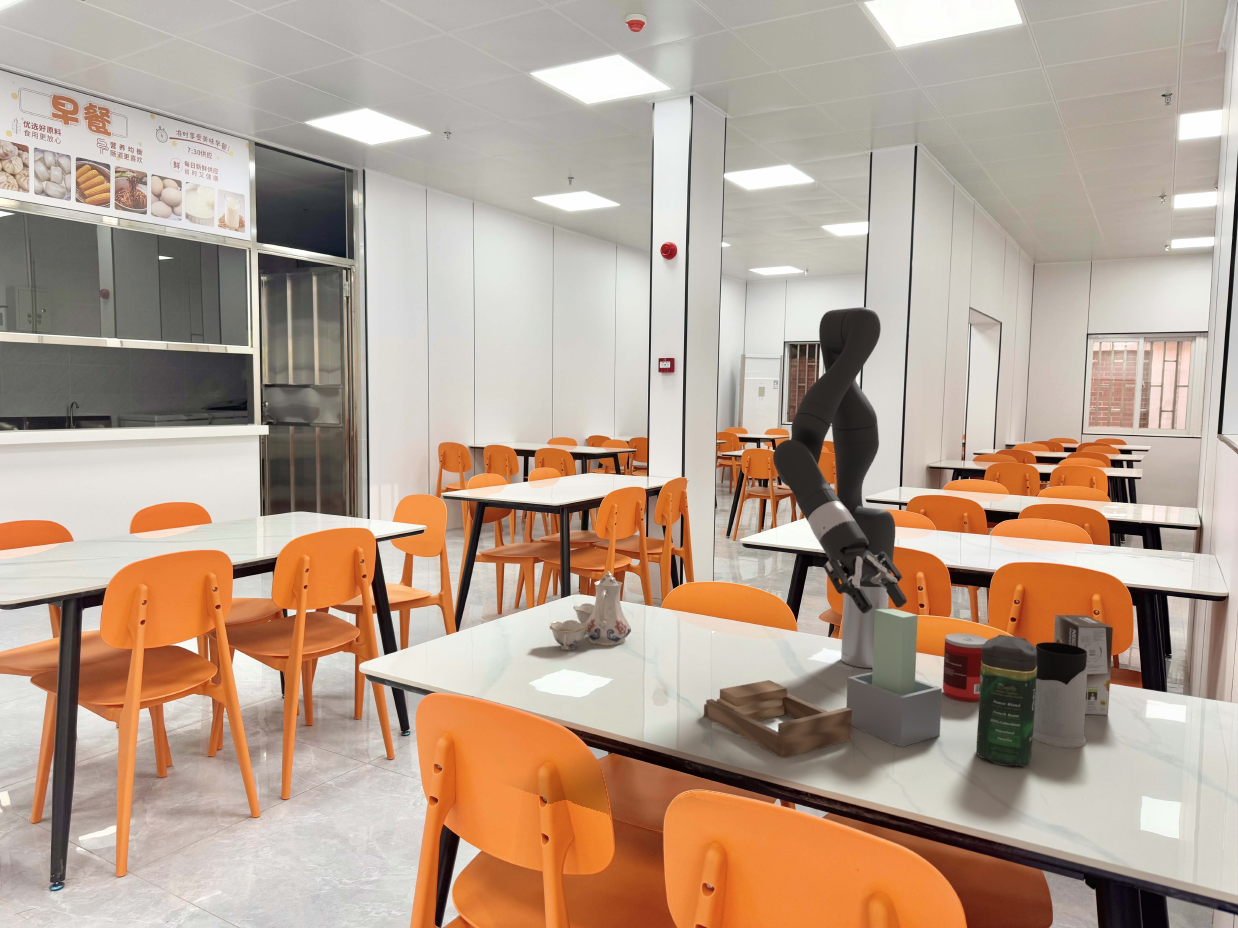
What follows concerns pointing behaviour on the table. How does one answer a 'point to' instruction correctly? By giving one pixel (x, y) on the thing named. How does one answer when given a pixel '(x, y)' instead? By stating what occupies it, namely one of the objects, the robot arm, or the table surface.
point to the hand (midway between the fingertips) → (885, 607)
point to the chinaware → (596, 619)
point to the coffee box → (1090, 655)
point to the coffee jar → (1007, 700)
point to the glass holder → (1060, 695)
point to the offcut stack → (755, 699)
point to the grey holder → (894, 711)
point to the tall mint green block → (894, 650)
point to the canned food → (962, 666)
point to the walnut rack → (787, 726)
